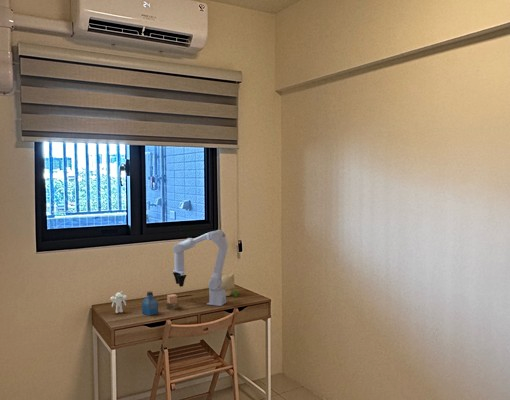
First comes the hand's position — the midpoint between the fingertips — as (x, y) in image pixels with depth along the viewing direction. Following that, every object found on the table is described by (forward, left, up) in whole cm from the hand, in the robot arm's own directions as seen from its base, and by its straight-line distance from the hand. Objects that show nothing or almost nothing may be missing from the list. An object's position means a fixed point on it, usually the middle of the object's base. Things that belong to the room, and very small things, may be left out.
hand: (179, 285), depth 285 cm
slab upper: (-3, +13, -9) cm, 16 cm away
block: (-3, +13, -7) cm, 15 cm away
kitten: (-21, -23, -11) cm, 33 cm away
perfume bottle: (+4, +26, -11) cm, 28 cm away
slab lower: (-3, +13, -11) cm, 17 cm away
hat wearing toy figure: (+22, +30, -11) cm, 39 cm away
